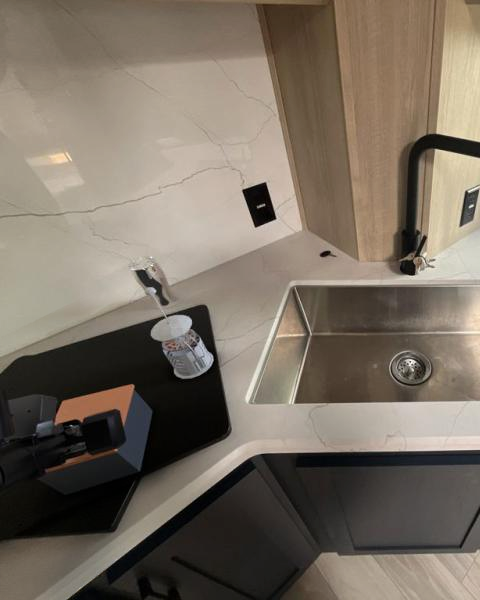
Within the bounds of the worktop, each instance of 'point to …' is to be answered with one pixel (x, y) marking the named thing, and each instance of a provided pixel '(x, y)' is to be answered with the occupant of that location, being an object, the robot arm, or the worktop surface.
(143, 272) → the beer glass
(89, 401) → the orange square plate
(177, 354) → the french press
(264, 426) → the worktop surface
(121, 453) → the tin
